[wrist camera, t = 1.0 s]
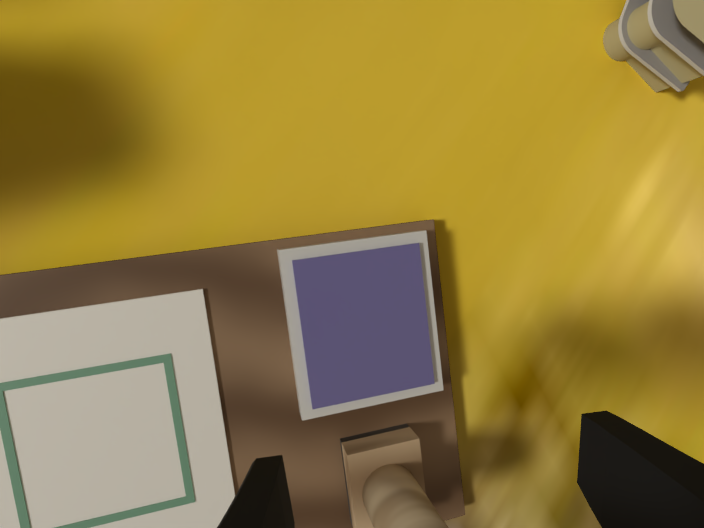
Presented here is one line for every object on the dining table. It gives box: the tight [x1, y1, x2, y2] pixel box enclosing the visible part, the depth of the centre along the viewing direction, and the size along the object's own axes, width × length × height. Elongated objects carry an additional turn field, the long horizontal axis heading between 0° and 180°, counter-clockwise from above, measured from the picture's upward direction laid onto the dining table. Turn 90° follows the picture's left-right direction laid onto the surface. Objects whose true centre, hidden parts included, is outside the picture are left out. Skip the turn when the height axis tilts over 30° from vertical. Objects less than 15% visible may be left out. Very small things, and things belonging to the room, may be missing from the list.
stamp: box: [340, 423, 448, 528], centre depth 23 cm, size 5×4×7 cm
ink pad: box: [277, 230, 444, 421], centre depth 25 cm, size 9×8×2 cm
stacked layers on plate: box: [603, 0, 704, 92], centre depth 27 cm, size 10×9×6 cm
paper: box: [0, 289, 235, 528], centre depth 23 cm, size 14×12×1 cm
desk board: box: [0, 220, 465, 528], centre depth 24 cm, size 18×27×1 cm, turn 97°
